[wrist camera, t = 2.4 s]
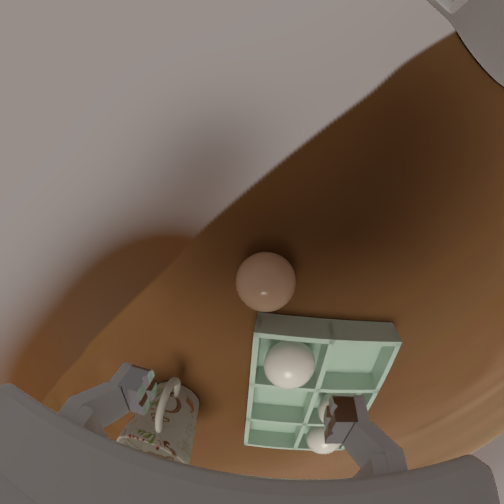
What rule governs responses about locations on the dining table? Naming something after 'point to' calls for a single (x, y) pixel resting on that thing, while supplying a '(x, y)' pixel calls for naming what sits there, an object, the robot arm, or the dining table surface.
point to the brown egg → (265, 281)
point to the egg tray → (324, 377)
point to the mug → (165, 423)
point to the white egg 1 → (289, 364)
